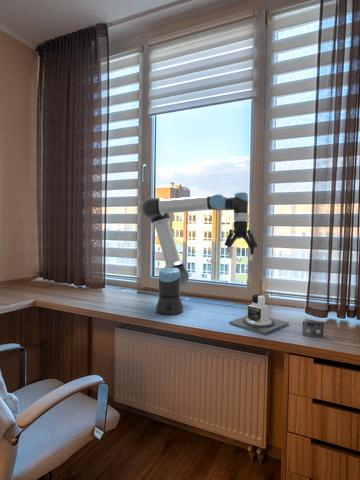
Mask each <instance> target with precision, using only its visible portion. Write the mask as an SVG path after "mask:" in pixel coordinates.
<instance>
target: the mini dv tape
mask: <svg viewBox="0 0 360 480" xmlns="http://www.w3.org/2000/svg"><path fill="white" fill-rule="evenodd" d="M324 326H325V325H324V322H320V321H318V322H317V321H309V320H308V321H307V320H306V321H305V320H302V332H301V333H302V336H307V337H308V336H309V337H317V338H318V337H321V338H324Z"/></svg>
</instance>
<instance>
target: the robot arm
mask: <svg viewBox="0 0 360 480" xmlns="http://www.w3.org/2000/svg"><path fill="white" fill-rule="evenodd" d="M248 195H249V194H248V193H247V192H243V191H239V192H234V194H233V196H224V195H222V194H220V193H216V194H215V193H214V194H212V195H202V196H191V197H189V196H188V197H179V198H178V197H177V198H168V199H165V198H163V197H159V198H156V197H155V198H154V197H150V198H149V197H148V198H147V199H145V200H144V201H143V203H142V204H141V212H142V214H143V215H144V216H145V217H146V218H148V219H150V222H151V225H153V226H154V228H155V230H156V234H157V238H158V241H159V244H160V245H159V246H160V248H161V252H162V255H163V260H164V262H165V266H164V267H163V268H162V269H160V270H159V272H158V299H157V302H156V306H155V312H156V313H157V314H159V313H160V314H159V315H163V314H166V315H165V316H174V314H176V315H180V314H182V313H184V306H183V303H182V299H181V288H182V287H184V286H185V285H186V284H187V283H188V282H189V278H190V274H189V271H188V270H187V268H186V267H185V265H184V262H183V261H181V260H180V257H179V253H178V250H177V247H176V242H175V239H174V235H173V233H172V232H173V231H172V228H171V226H170V225H171V224H170V221H171V215H170V214H172V213H173V214H174V213H185V212H186V213H188V212H199V211H212V210H213V211H233V220H234V221H233V229H229V231H228V235H227V237H226V239H225V242H224V246H226V247H227V254H228V255H227V256H228V257H227V258H228V259H233V245H234V243H235V242H236V241H237V239H243V240H244V241H245V243H246V244H247V246H248V247H249V248H248V257H247V258H248V259H247V260H248V262H249V261H253V260H254V259H253V258H254V253H255V252H254V251H255V248H258V244H257V242H256V238H255V237H254V234H253V230H252V229H248V226H249V225H248V224H249V223H248V220H249V219H248V218H249V217H248V215H249V213H248V212H249V199H248V198H249V196H248Z"/></svg>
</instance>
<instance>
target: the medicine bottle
mask: <svg viewBox="0 0 360 480" xmlns="http://www.w3.org/2000/svg"><path fill="white" fill-rule="evenodd" d="M269 306H270V305H269V304H268V305H267V304H266V297H265V296H264V295H263V294H253V295H252V296H251V304H249V305H247V316H248V320H251V321H255V322H258V323H262V322H264V321H267V320H268V319H269V318H270V317H269V315H270V313H269V310H270V309H269V308H270V307H269Z"/></svg>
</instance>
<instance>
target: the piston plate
mask: <svg viewBox="0 0 360 480" xmlns="http://www.w3.org/2000/svg"><path fill="white" fill-rule="evenodd" d="M228 324H229V325H230V326H234V327H237V328H241V329H243V330H247V331H251V332H253V331H254V332H253V333H256V334H260V333H261V334H260V335H263V334H264V336H267V335H269V334H272V333H273V332H275V331H278V330H280V329H283V328H285V327H287V326H289V322H287V321H283V320H279V319H275V318H272V317H269V319H268V320H267V321H264V322H262V323H258V322H255V321H251V320H248V315H245V316H243V317H242V316H241V317H239V318H235V319H233V320H229V322H228ZM271 332H272V333H271ZM266 334H267V335H266Z"/></svg>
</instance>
